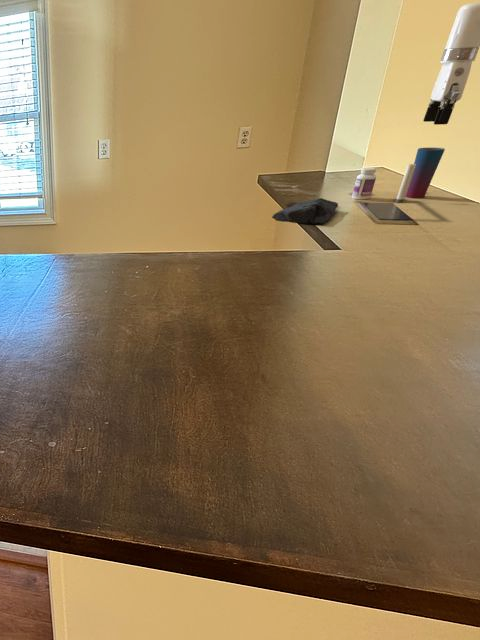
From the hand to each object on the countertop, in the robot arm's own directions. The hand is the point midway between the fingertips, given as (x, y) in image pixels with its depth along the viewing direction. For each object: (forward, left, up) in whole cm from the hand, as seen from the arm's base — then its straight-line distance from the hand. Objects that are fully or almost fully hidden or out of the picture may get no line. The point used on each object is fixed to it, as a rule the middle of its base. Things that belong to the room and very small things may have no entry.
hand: (434, 122), depth 144 cm
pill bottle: (+12, -6, -24) cm, 27 cm away
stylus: (+3, +2, -24) cm, 24 cm away
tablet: (+7, +17, -24) cm, 30 cm away
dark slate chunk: (+31, +21, -24) cm, 44 cm away
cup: (-4, -9, -24) cm, 26 cm away
